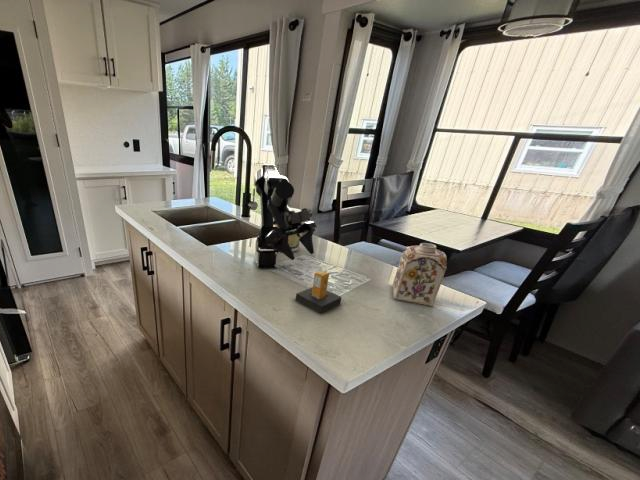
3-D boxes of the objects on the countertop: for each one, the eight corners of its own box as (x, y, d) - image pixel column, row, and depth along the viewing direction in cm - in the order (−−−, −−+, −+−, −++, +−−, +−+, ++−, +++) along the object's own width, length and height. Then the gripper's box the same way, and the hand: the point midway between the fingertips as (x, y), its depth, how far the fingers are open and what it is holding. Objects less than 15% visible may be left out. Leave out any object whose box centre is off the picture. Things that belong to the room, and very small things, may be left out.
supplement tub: (300, 253, 141) (306, 214, 133) (272, 252, 141) (276, 212, 133) (296, 244, 152) (301, 207, 144) (270, 242, 152) (274, 206, 144)
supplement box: (316, 298, 105) (321, 269, 101) (324, 302, 103) (330, 273, 98) (309, 301, 104) (314, 272, 99) (318, 305, 101) (323, 276, 96)
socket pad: (295, 300, 103) (296, 293, 102) (315, 292, 109) (316, 285, 108) (320, 313, 97) (321, 306, 96) (340, 304, 103) (341, 297, 102)
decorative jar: (432, 307, 103) (453, 253, 95) (393, 299, 107) (409, 247, 98) (427, 291, 113) (445, 241, 105) (392, 285, 117) (406, 236, 108)
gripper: (275, 202, 92) (300, 250, 90) (316, 195, 103) (339, 238, 101) (255, 223, 101) (276, 267, 99) (294, 215, 112) (315, 255, 110)
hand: (303, 256), depth 102 cm, fingers open, 9 cm apart
